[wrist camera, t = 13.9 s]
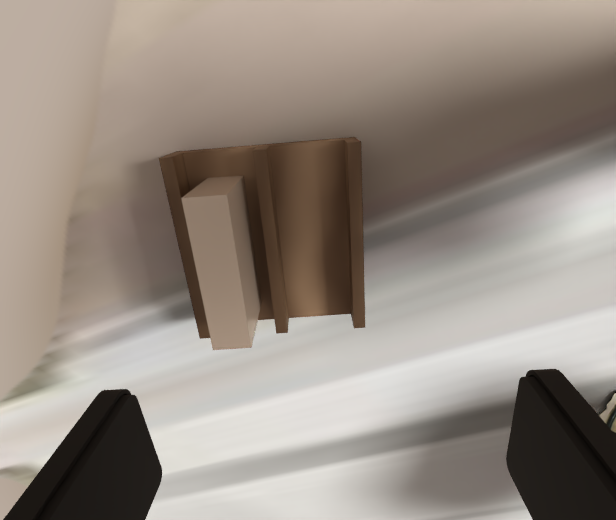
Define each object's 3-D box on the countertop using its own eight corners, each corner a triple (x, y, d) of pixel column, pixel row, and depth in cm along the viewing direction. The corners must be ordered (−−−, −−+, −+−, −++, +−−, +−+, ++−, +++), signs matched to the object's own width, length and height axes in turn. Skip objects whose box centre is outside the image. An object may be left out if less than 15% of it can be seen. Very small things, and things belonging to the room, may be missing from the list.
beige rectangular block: (243, 175, 31) (226, 194, 24) (261, 302, 35) (251, 347, 29) (207, 177, 31) (181, 198, 24) (230, 304, 35) (213, 349, 29)
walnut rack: (354, 137, 31) (361, 141, 27) (359, 305, 37) (365, 327, 33) (176, 151, 31) (158, 158, 28) (210, 315, 38) (199, 338, 34)
